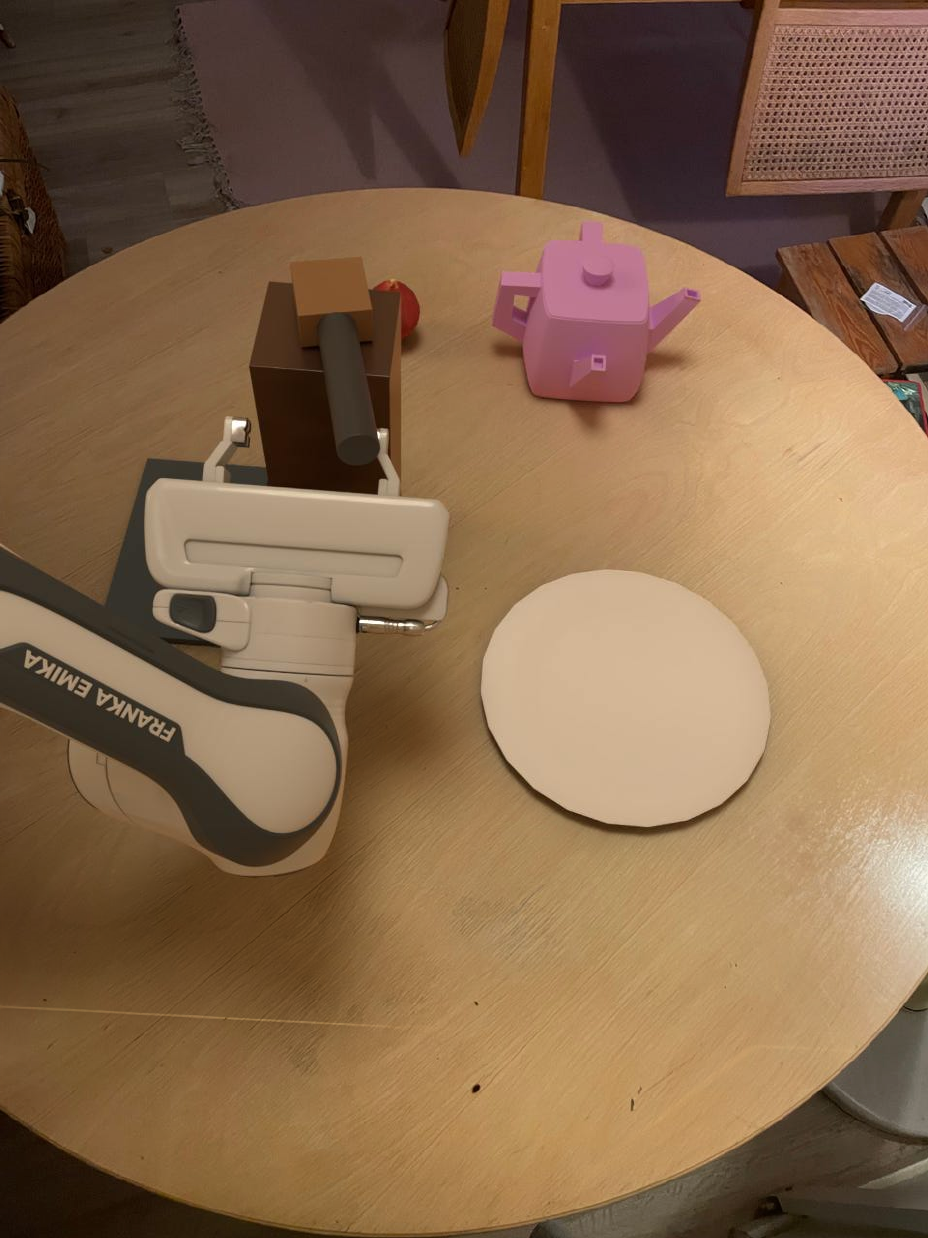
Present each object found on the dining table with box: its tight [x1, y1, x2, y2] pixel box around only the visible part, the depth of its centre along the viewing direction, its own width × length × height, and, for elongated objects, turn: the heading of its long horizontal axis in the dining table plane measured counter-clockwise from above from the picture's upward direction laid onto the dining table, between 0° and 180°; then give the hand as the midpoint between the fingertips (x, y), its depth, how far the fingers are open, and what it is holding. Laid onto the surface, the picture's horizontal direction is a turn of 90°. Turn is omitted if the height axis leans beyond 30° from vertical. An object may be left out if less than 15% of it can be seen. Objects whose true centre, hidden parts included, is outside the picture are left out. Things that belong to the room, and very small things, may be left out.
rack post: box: [248, 280, 402, 497], centre depth 87 cm, size 10×9×26 cm
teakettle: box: [491, 220, 702, 403], centre depth 107 cm, size 17×17×12 cm
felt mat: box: [104, 457, 269, 647], centre depth 96 cm, size 12×20×1 cm, turn 177°
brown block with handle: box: [289, 256, 380, 465], centre depth 72 cm, size 18×5×3 cm, turn 11°
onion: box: [372, 278, 421, 340], centre depth 109 cm, size 6×6×8 cm
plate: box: [480, 568, 772, 829], centre depth 89 cm, size 25×25×2 cm
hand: (308, 423), depth 70 cm, fingers open, 8 cm apart
